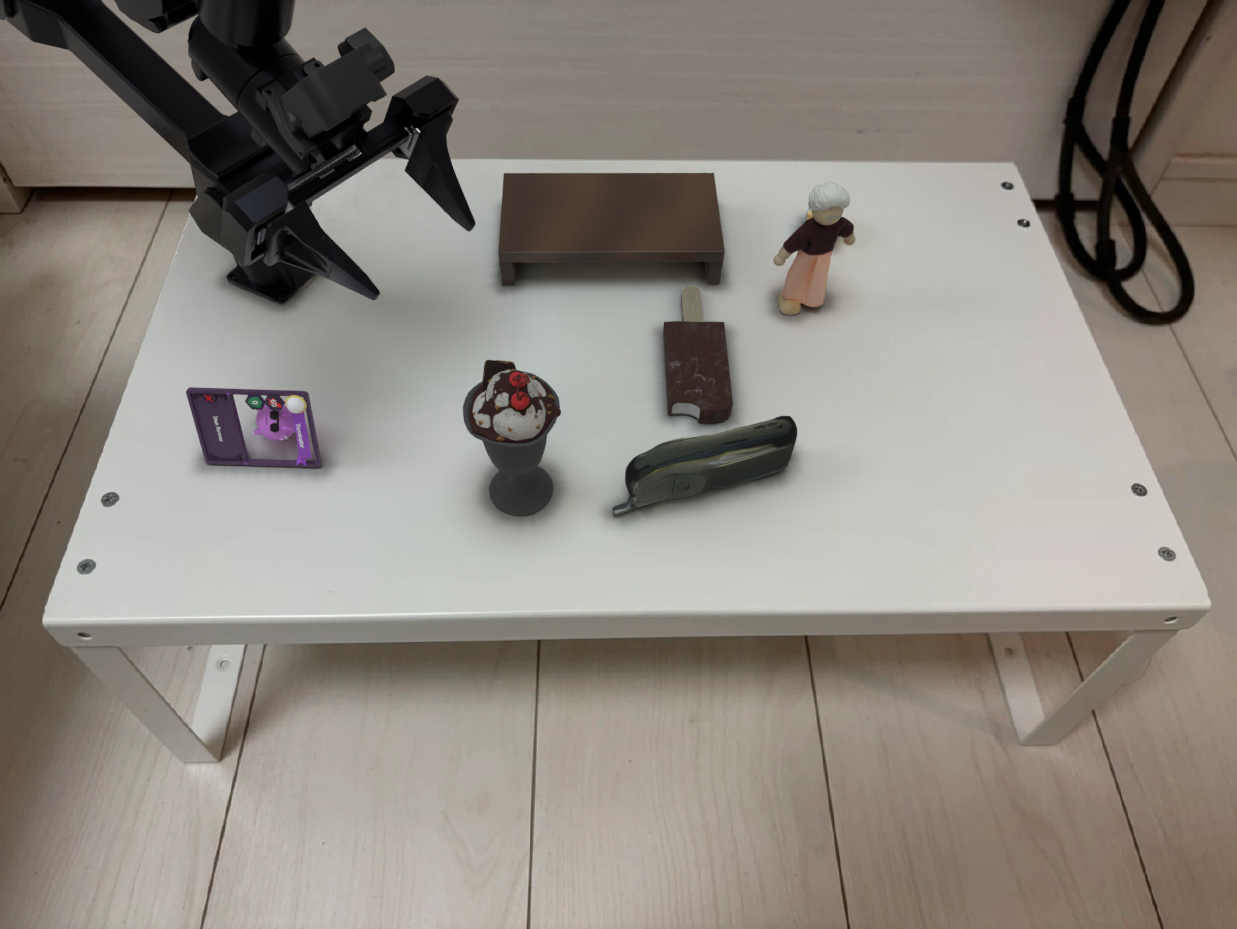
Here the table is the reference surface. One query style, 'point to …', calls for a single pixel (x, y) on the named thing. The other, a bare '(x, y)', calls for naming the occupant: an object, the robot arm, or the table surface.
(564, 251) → the shelf
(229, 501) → the table surface
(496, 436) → the sundae
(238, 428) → the game card
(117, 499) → the table surface
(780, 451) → the swiss army knife
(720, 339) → the ice cream bar
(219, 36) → the robot arm
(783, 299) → the grandmother figurine
